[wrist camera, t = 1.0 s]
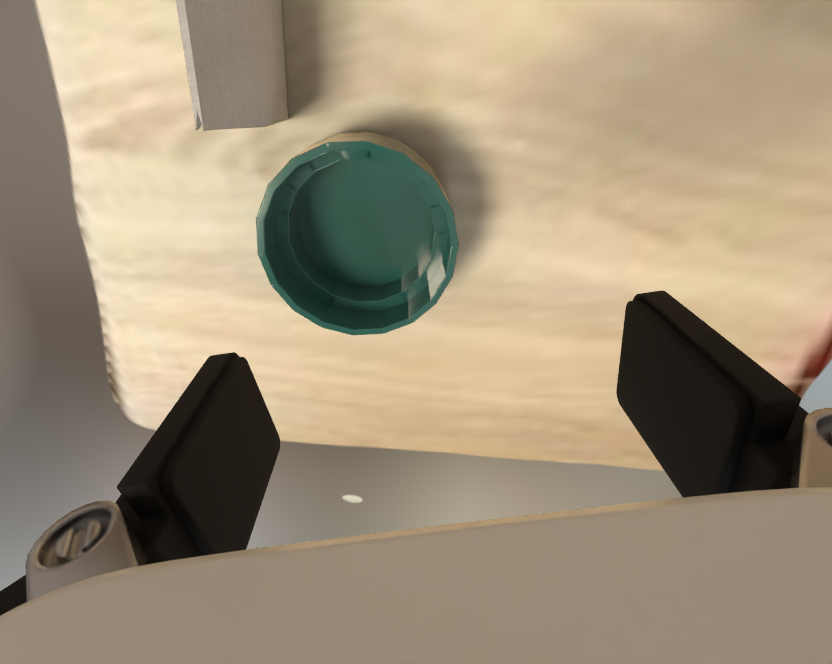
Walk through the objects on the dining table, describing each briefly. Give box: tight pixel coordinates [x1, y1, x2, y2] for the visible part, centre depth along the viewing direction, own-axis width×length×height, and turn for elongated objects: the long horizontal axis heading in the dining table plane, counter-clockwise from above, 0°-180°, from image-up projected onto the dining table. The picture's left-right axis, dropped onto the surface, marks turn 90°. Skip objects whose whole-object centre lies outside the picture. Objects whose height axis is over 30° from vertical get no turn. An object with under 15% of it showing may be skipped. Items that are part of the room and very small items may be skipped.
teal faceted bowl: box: [256, 132, 459, 335], centre depth 30 cm, size 13×13×6 cm
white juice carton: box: [176, 0, 288, 131], centre depth 23 cm, size 4×7×10 cm, turn 175°
